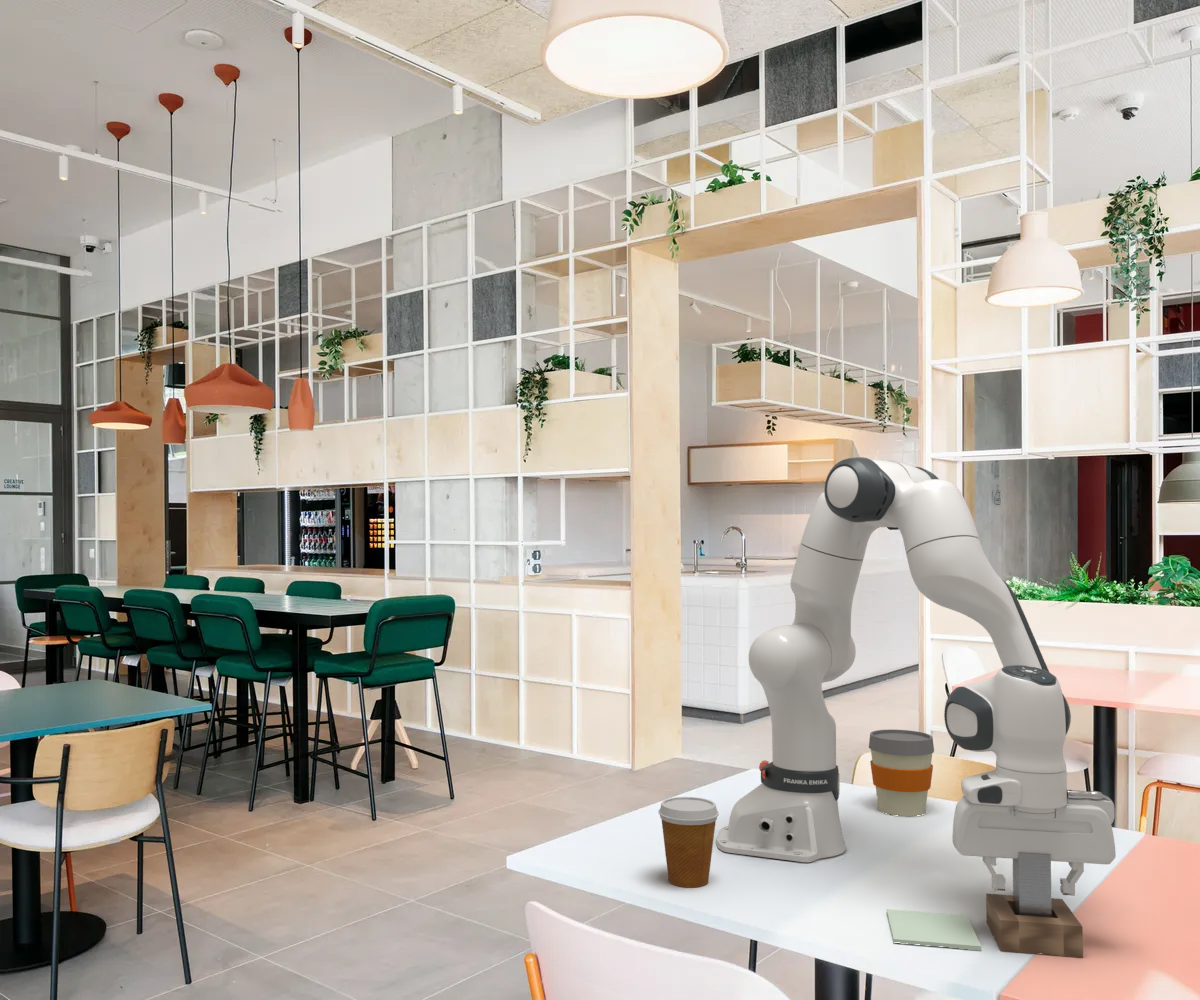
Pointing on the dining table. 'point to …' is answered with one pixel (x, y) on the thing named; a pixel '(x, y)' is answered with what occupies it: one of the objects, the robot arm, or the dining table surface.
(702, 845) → the disposable coffee cup
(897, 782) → the reusable coffee cup
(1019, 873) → the peg
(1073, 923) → the socket block
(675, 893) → the dining table surface
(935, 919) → the mat
